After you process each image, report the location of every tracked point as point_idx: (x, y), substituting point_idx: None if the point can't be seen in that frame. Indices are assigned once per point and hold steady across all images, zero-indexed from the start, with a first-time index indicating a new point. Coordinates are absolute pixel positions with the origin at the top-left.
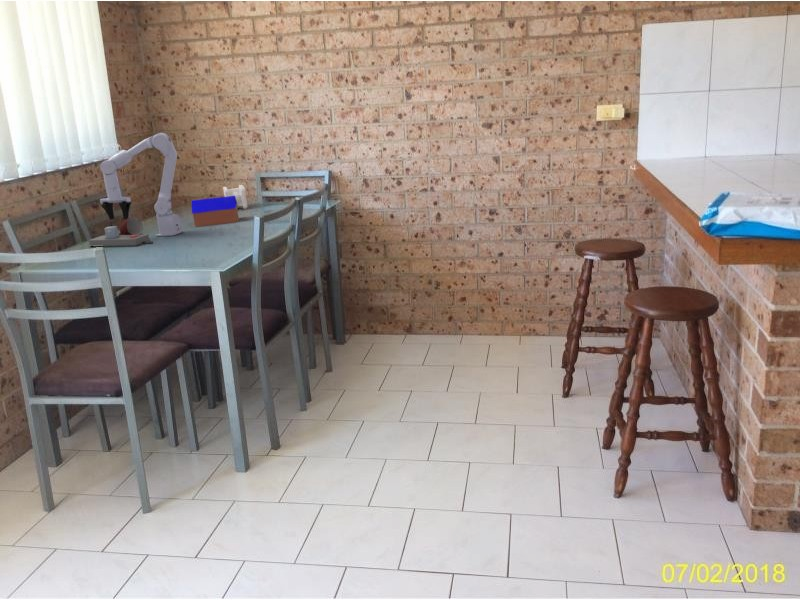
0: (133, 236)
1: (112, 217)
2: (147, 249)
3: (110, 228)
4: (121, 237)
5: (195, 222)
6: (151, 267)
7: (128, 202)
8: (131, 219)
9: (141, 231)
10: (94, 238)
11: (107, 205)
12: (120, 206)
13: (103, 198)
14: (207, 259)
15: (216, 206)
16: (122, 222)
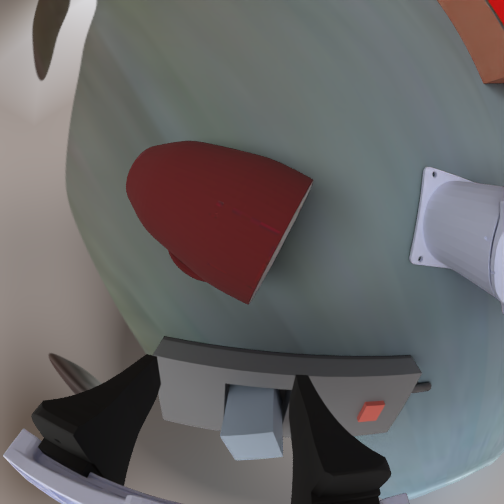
0: (373, 419)
1: (154, 376)
2: (421, 432)
3: (266, 456)
4: None
5: (497, 80)
6: (435, 483)
7: (373, 495)
8: (224, 195)
9: (302, 200)
10: (161, 398)
11: (116, 473)
12: (294, 502)
13: (12, 463)
14: (499, 441)
15: None
16: (161, 232)
